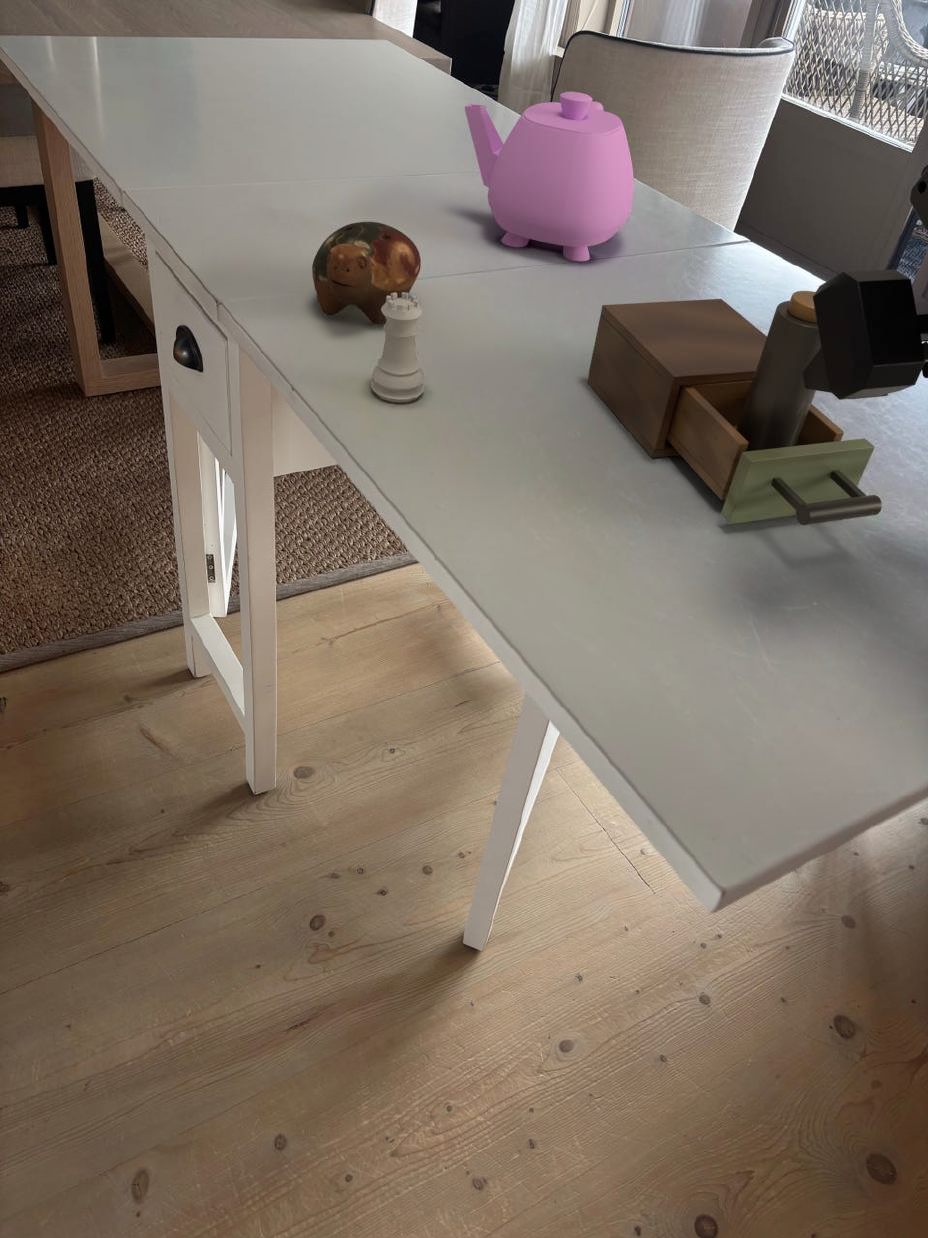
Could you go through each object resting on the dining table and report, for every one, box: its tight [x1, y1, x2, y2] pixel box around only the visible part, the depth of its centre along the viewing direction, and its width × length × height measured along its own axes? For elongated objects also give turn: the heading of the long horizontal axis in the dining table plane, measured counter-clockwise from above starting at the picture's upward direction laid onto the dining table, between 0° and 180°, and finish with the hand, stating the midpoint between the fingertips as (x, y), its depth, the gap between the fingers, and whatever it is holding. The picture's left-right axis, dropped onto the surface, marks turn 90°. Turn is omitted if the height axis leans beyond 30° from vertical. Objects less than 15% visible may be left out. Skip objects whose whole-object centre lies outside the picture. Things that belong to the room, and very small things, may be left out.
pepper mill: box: [736, 290, 821, 452], centre depth 67 cm, size 4×4×13 cm
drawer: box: [666, 379, 883, 526], centre depth 69 cm, size 16×10×5 cm, turn 19°
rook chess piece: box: [370, 292, 425, 404], centre depth 76 cm, size 4×4×8 cm
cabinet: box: [586, 298, 767, 459], centre depth 78 cm, size 13×12×7 cm
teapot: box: [464, 91, 635, 262], centre depth 105 cm, size 20×20×15 cm
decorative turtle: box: [311, 221, 422, 326], centre depth 88 cm, size 10×15×8 cm, turn 170°
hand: (866, 374), depth 60 cm, fingers open, 9 cm apart
